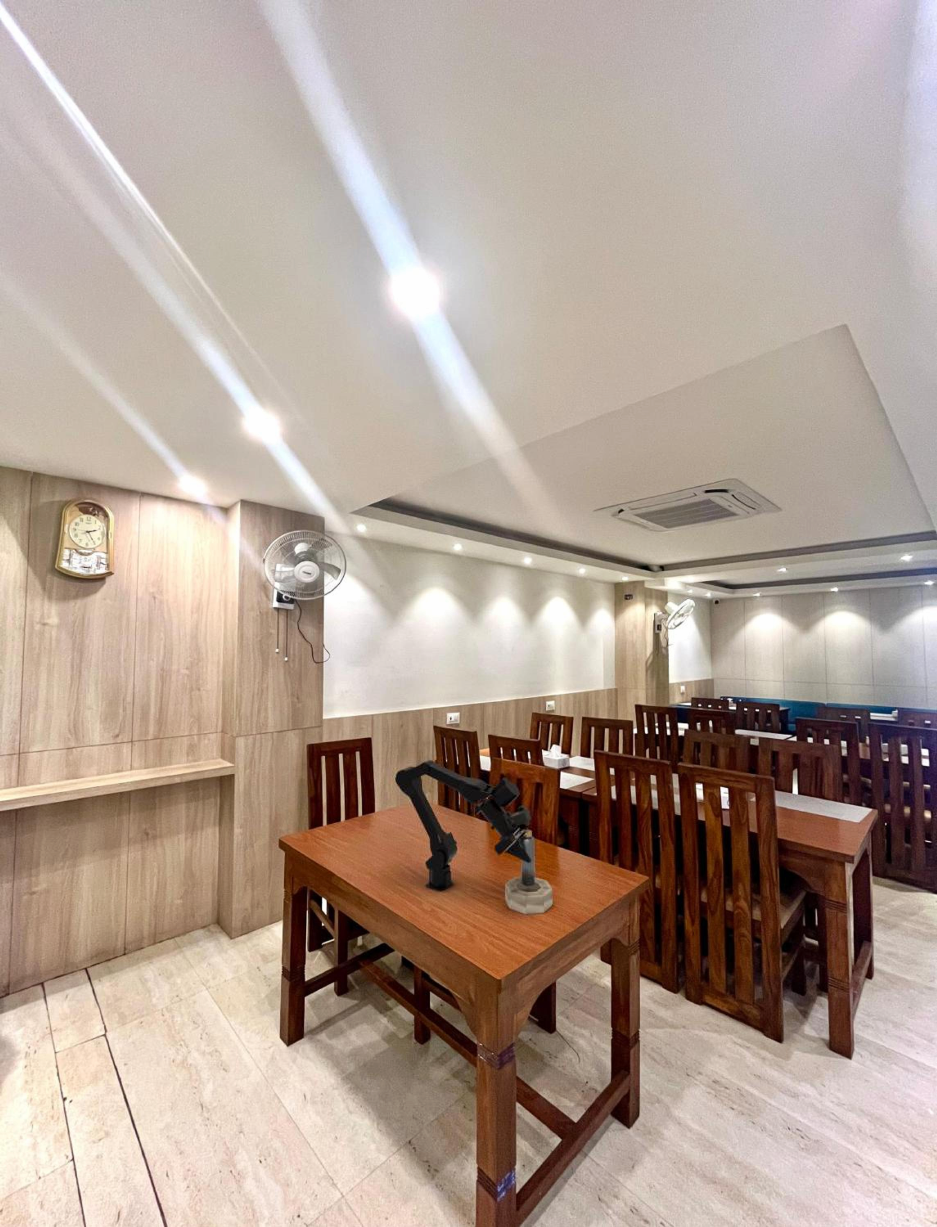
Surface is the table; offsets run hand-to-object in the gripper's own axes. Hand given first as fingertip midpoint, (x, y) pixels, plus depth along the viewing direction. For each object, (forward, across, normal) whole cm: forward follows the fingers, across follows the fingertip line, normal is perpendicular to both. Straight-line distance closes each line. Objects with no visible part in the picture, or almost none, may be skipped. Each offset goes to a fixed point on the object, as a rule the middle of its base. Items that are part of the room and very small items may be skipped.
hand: (532, 859), depth 149 cm
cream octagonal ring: (+8, 0, +10) cm, 13 cm away
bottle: (+4, 0, +6) cm, 7 cm away
